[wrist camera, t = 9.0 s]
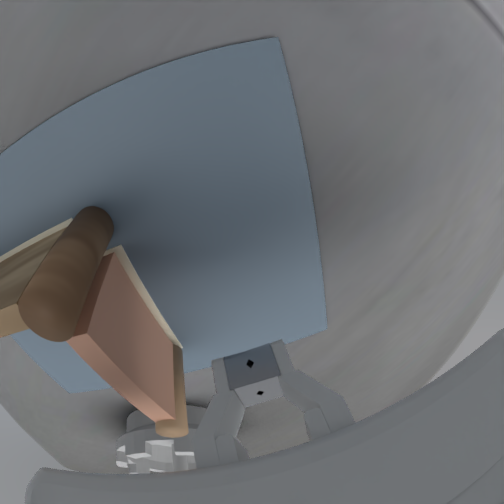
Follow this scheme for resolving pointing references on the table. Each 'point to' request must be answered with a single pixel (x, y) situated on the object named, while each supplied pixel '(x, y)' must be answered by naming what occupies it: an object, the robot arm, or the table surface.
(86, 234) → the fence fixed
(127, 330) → the fence section
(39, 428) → the table surface
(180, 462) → the flag stand
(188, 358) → the board
